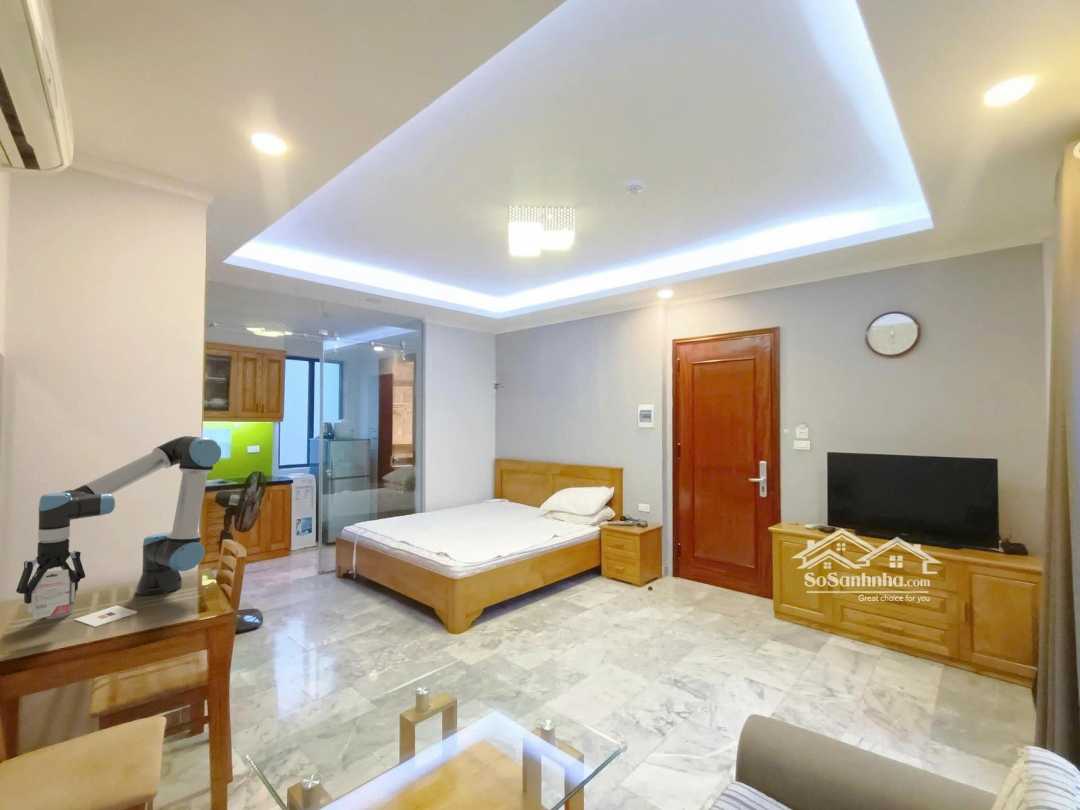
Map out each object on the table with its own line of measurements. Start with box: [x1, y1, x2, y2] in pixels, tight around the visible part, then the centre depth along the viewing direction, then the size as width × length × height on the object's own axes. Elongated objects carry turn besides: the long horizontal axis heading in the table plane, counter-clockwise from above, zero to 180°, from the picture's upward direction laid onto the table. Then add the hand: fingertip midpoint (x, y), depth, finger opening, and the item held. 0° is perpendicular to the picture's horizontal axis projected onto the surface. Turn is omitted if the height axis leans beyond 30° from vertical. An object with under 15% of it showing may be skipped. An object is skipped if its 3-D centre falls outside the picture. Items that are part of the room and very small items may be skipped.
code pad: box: [74, 605, 139, 628], centre depth 178 cm, size 13×13×1 cm
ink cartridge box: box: [32, 569, 70, 620], centre depth 163 cm, size 9×5×15 cm, turn 131°
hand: (51, 606), depth 163 cm, fingers closed on ink cartridge box, 9 cm apart
